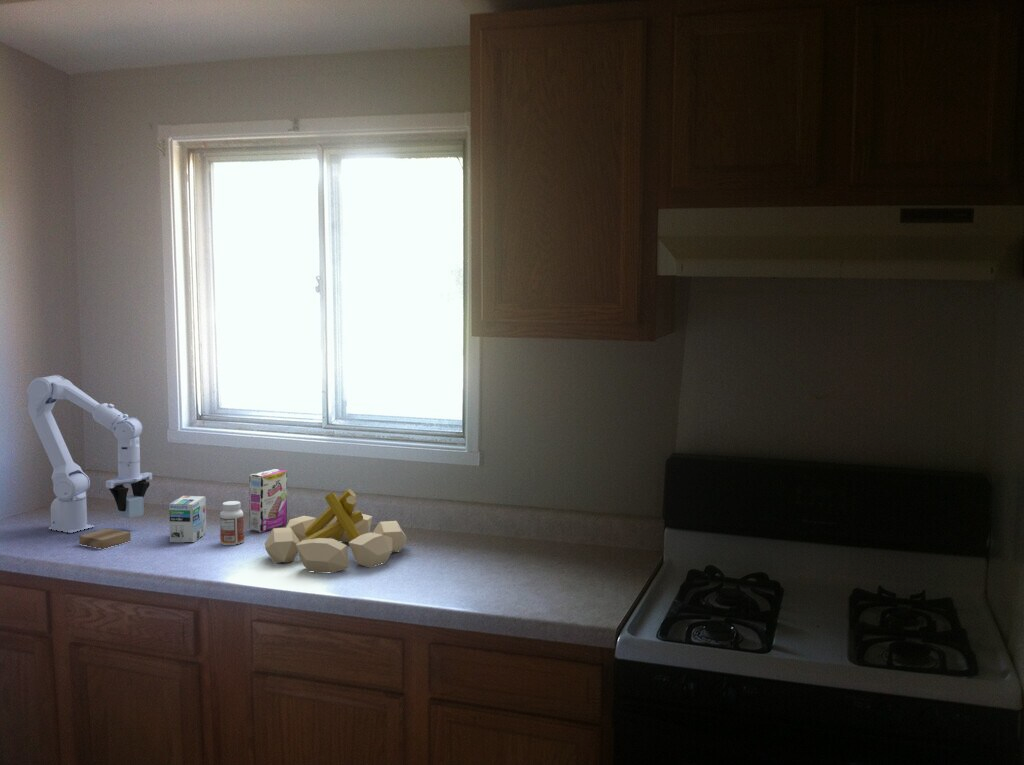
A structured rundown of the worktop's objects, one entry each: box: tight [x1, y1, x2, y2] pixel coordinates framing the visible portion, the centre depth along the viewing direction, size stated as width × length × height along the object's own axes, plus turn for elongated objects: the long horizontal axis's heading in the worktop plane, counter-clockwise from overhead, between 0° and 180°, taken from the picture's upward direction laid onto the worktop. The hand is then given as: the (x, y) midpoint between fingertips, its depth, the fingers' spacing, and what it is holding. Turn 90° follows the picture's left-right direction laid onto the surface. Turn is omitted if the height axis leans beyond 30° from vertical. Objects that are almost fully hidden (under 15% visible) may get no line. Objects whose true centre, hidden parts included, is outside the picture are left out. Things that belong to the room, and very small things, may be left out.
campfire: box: [264, 488, 408, 573], centre depth 245 cm, size 35×34×17 cm
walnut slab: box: [78, 528, 132, 550], centre depth 253 cm, size 9×9×3 cm
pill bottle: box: [219, 500, 245, 546], centre depth 255 cm, size 6×6×11 cm
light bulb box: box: [168, 495, 207, 543], centre depth 259 cm, size 11×7×11 cm, turn 179°
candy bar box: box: [248, 468, 288, 534], centre depth 271 cm, size 11×5×16 cm, turn 154°
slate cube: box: [116, 494, 145, 519], centre depth 266 cm, size 5×5×5 cm
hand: (129, 508), depth 266 cm, fingers closed on slate cube, 5 cm apart
